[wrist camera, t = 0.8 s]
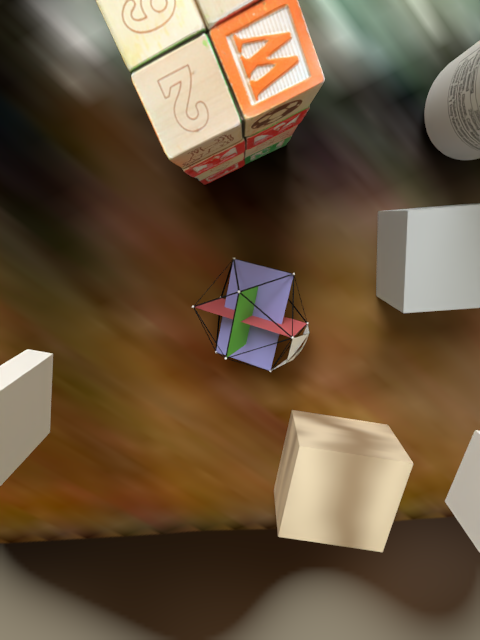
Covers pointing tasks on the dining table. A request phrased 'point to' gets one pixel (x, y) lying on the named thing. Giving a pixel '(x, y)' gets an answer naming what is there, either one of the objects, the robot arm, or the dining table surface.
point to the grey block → (429, 258)
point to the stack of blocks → (217, 76)
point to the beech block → (339, 481)
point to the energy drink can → (456, 107)
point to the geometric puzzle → (255, 315)
